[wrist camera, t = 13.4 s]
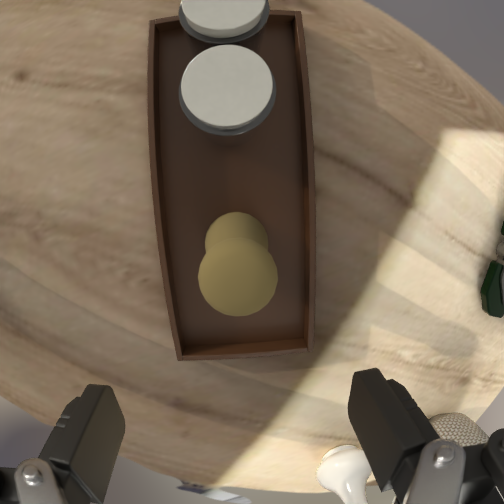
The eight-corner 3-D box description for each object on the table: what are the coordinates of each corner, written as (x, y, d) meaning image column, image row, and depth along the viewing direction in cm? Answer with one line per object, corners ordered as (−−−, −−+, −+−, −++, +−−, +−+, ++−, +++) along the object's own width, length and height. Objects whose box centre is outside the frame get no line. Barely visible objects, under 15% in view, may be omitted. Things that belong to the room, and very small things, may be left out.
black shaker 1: (195, 85, 25) (173, 40, 14) (194, 32, 23) (176, -29, 13) (260, 81, 25) (276, 33, 14) (256, 28, 23) (268, -34, 13)
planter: (434, 394, 38) (474, 446, 25) (472, 401, 40) (507, 442, 27) (384, 451, 41) (409, 504, 28) (428, 451, 43) (453, 494, 30)
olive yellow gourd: (197, 221, 28) (175, 252, 18) (260, 204, 28) (276, 226, 17) (214, 280, 30) (205, 339, 19) (274, 265, 30) (296, 317, 19)
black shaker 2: (198, 150, 26) (175, 138, 16) (195, 88, 25) (173, 44, 14) (264, 145, 27) (283, 131, 16) (260, 84, 25) (276, 37, 14)
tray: (181, 348, 32) (177, 360, 30) (155, 30, 23) (149, 20, 21) (307, 339, 33) (313, 351, 30) (296, 21, 24) (301, 11, 21)
